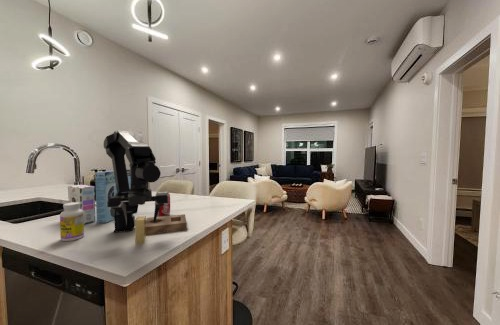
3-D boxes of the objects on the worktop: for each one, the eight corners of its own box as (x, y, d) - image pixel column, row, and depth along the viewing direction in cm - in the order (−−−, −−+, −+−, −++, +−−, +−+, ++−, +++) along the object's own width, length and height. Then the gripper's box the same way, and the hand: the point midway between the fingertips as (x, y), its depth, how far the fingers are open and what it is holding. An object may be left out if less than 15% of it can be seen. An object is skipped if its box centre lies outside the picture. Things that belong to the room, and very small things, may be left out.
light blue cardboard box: (106, 223, 96) (105, 172, 96) (95, 223, 97) (93, 172, 96) (132, 211, 116) (131, 169, 115) (122, 211, 116) (121, 169, 115)
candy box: (96, 221, 99) (95, 186, 98) (80, 225, 94) (79, 187, 93) (83, 217, 106) (82, 183, 106) (68, 220, 101) (67, 185, 101)
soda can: (172, 213, 111) (172, 190, 111) (166, 217, 104) (165, 193, 104) (159, 213, 112) (159, 190, 111) (152, 217, 105) (151, 193, 104)
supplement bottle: (55, 241, 77) (54, 205, 76) (74, 234, 83) (73, 201, 83) (70, 242, 75) (69, 206, 75) (88, 235, 82) (87, 202, 81)
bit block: (143, 235, 82) (142, 227, 82) (146, 224, 94) (146, 217, 94) (186, 229, 87) (186, 222, 87) (185, 220, 100) (184, 214, 99)
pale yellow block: (135, 243, 74) (134, 220, 74) (137, 238, 79) (137, 216, 78) (144, 242, 75) (144, 219, 75) (146, 237, 80) (145, 216, 79)
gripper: (101, 184, 65) (102, 234, 66) (167, 181, 72) (167, 227, 72) (111, 180, 76) (112, 223, 76) (168, 178, 82) (168, 218, 83)
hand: (140, 223), depth 77 cm, fingers open, 9 cm apart
